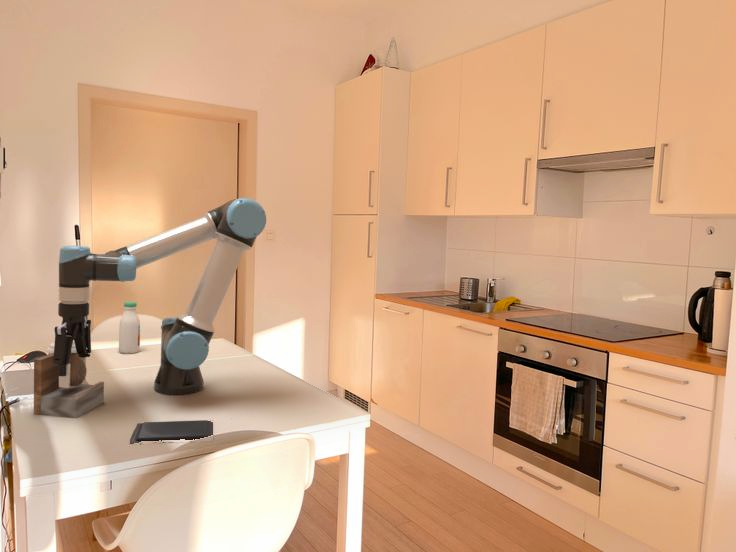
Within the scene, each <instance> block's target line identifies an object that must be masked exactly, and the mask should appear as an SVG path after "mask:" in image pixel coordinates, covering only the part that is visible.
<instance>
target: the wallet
mask: <svg viewBox="0 0 736 552" xmlns="http://www.w3.org/2000/svg"><path fill="white" fill-rule="evenodd" d="M211 421H212V420H207V419H205V420H204V419H203V420H201V419H200V420H199V419H198V420H176V421H175V420H174V421H170V420H169V421H144V422H140V423H137V424H136V426H135V427H136V428H134V429H135V430H134V429H133V432H132V434H131V436H130V439H129V441H130V444H134V443H139V442H141V441H159V440H161V441H162V440H180V439H185V440H193V439H194V440H195V439H200V438H204V437H208V436H211V435H213V422H211ZM130 444H129V445H130Z"/></svg>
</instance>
